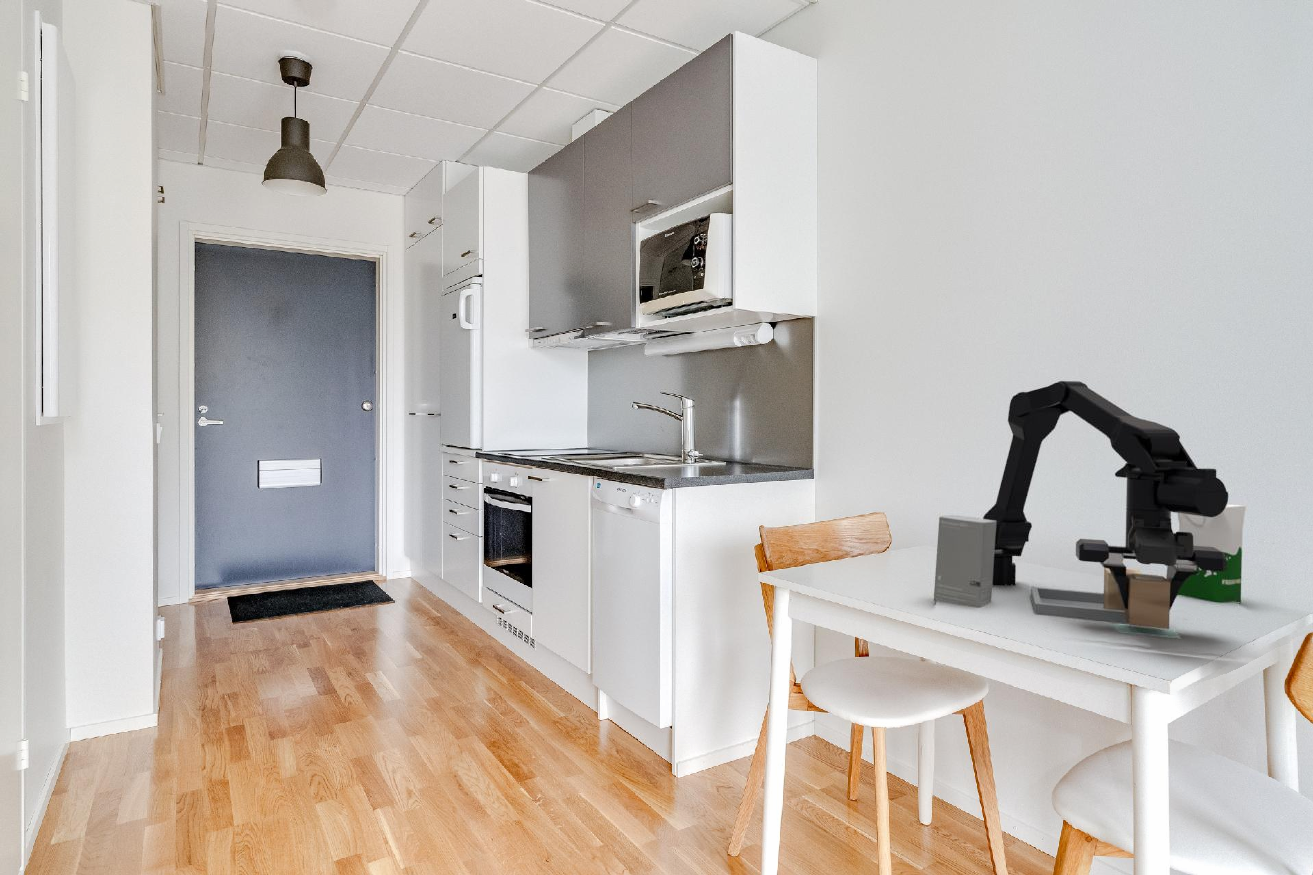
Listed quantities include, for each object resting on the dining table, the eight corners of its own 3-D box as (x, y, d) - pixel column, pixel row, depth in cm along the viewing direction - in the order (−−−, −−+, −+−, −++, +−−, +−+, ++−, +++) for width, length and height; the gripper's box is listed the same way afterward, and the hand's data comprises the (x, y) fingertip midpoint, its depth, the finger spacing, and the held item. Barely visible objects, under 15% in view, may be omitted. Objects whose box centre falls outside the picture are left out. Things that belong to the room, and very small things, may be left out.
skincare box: (933, 604, 132) (934, 516, 132) (948, 597, 138) (949, 513, 137) (981, 612, 127) (983, 520, 126) (995, 605, 132) (997, 517, 132)
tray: (1034, 618, 123) (1035, 603, 123) (1030, 600, 136) (1030, 586, 136) (1163, 631, 116) (1163, 615, 116) (1146, 610, 128) (1146, 596, 128)
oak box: (1107, 614, 123) (1108, 572, 123) (1103, 607, 127) (1104, 567, 127) (1143, 618, 121) (1144, 575, 120) (1137, 611, 125) (1138, 570, 125)
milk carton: (1197, 593, 142) (1199, 489, 142) (1250, 604, 134) (1253, 494, 133) (1168, 597, 139) (1170, 491, 138) (1221, 608, 130) (1223, 495, 130)
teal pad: (1118, 636, 113) (1118, 631, 113) (1113, 628, 117) (1113, 623, 117) (1181, 643, 109) (1181, 638, 109) (1173, 634, 114) (1173, 629, 114)
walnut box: (1124, 617, 117) (1125, 571, 116) (1161, 620, 115) (1162, 574, 114) (1129, 625, 112) (1130, 577, 112) (1169, 629, 110) (1170, 581, 110)
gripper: (1084, 511, 109) (1082, 615, 110) (1240, 518, 102) (1237, 631, 102) (1076, 503, 120) (1074, 599, 120) (1217, 510, 112) (1214, 612, 112)
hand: (1146, 610), depth 113 cm, fingers closed on walnut box, 5 cm apart
